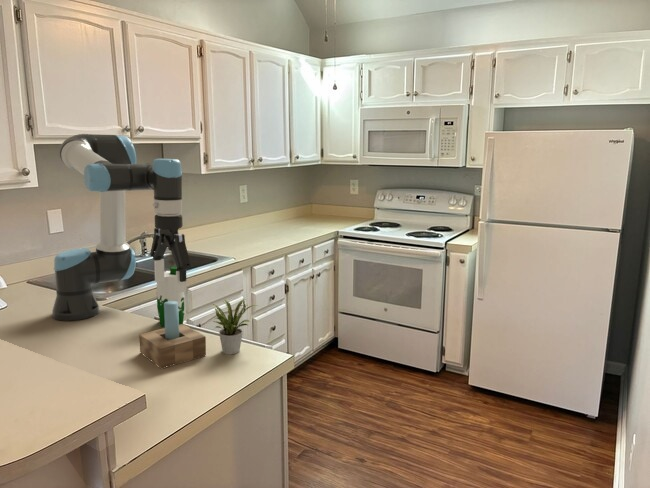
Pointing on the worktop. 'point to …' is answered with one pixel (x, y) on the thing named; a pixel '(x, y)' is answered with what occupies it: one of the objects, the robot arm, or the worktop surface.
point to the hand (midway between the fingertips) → (170, 286)
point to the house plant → (231, 328)
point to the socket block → (172, 346)
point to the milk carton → (169, 295)
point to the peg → (171, 320)
